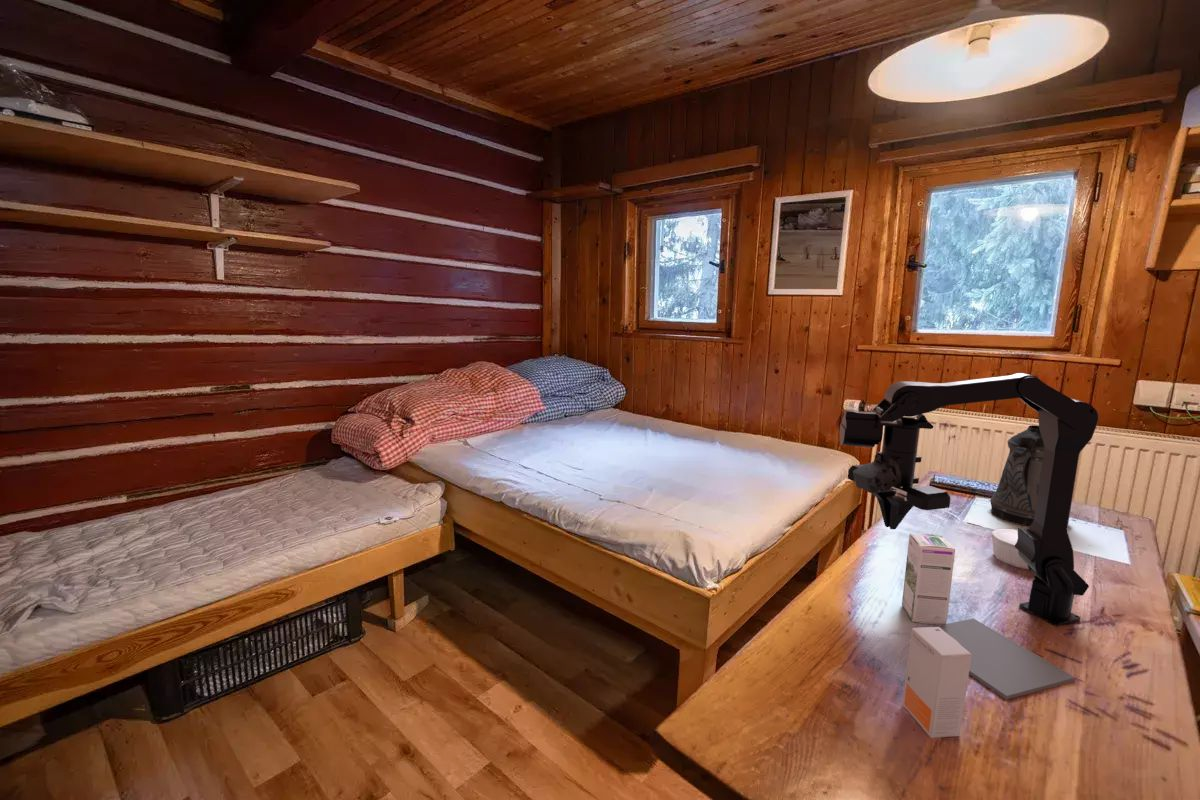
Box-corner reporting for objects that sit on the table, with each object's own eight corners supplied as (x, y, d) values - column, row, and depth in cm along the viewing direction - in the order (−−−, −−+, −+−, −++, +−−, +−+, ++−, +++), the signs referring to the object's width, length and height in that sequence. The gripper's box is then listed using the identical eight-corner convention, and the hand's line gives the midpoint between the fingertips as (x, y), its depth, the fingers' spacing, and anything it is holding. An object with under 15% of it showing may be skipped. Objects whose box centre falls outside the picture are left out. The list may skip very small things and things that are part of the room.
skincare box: (900, 705, 74) (910, 626, 72) (929, 703, 75) (939, 625, 73) (930, 739, 69) (941, 655, 66) (961, 737, 69) (974, 653, 67)
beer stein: (1060, 514, 146) (1075, 425, 142) (1075, 539, 130) (1093, 439, 126) (986, 502, 155) (999, 417, 151) (992, 524, 139) (1006, 430, 135)
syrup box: (947, 626, 93) (958, 548, 91) (910, 622, 94) (920, 545, 92) (934, 608, 99) (944, 534, 96) (899, 604, 100) (908, 531, 98)
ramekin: (1063, 566, 116) (1067, 544, 115) (1035, 577, 111) (1039, 553, 110) (1006, 546, 126) (1009, 525, 125) (978, 555, 121) (981, 533, 120)
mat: (972, 621, 95) (973, 618, 95) (1074, 680, 80) (1075, 677, 80) (911, 634, 91) (911, 631, 91) (1006, 699, 76) (1006, 695, 76)
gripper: (829, 440, 107) (822, 514, 109) (907, 466, 89) (896, 554, 92) (874, 436, 110) (866, 509, 113) (957, 461, 92) (946, 546, 95)
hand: (890, 527), depth 103 cm, fingers closed
